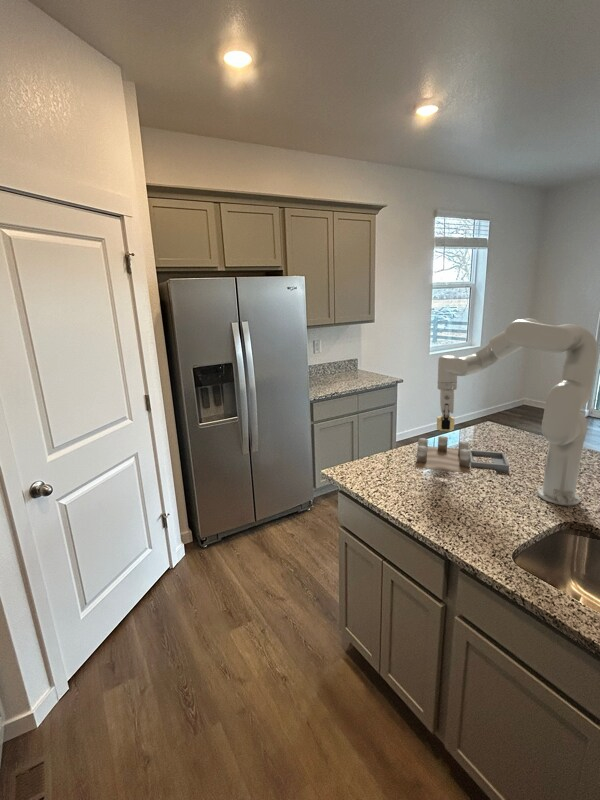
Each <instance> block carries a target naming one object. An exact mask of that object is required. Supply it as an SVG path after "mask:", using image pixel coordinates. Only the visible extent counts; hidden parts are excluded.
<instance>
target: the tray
mask: <svg viewBox="0 0 600 800" xmlns="http://www.w3.org/2000/svg"><path fill="white" fill-rule="evenodd" d="M468 450H469V451H470V467H474V468H485V469H486V468H487V469H493V470H495V471H496V472H498V473H499V472H500V473H509V472H510V465H509V462H508V459H507V457H506V455H505V453H504V452H499V451H498V452H497V451H487V450H486V451H484V450H477V449H476V450H475V449H474V450H473V449H468ZM473 456H481V457H482V456H484V457H490V459H491V462H480V461H474V460H473Z"/></svg>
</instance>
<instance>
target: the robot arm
mask: <svg viewBox="0 0 600 800" xmlns="http://www.w3.org/2000/svg"><path fill="white" fill-rule="evenodd" d="M523 348H524V349H529V350H535V351H540V352H544V353H549V354H551V353H552V354H560V353H564V352H565V354H566V356H565V359H564V362H563V365H562V371H561V372H562V373H561V377H560V381H559V383H557V384H555V385H554V386H553V387H551V389H550V390H549V391H548V394H547V396H546V399H545V402H544V403H545V405H544V411H543V417H542V422H541V432H542V436H543V438H544V439H545V440H546V441H547V442H548V446H547V447H548V448H547V453H546V459H545V461H546V462H545V468H544V475H543V484H542V486H540V487H538V488H537V491H536V494H537V496H538V497H540V499H542V500H544V501H546V502H549V503H550V504H555V505H558V506H569V507H571V506H576V505H579V503H580V501H581V496H579V494H577V493H576V492H577V491H576V490H577V485H578V476H579V472H580V471H579V470H580V465H581V460H582V453H583V447H584V444H585V439H586V436H587V432H588V421H587V418H586V416H585V415H584V414H583V413H582V412H581V409H582V407H584V406H585V405H586V404H587V403H589V401H590V398H591V396H592V389H593V382H594V379H595V372H596V367H597V362H598V361H597V360H598V354H599V348H598V342H597V340H596V338H595V336H594V335H593V334H592V332H591V331H589V330H588V329H586V328H585V327H584V326H581V325H578V324H573V323H565V324H559V325H552V324H545V323H541V322H540V321H539V320H538V319H536V318H535V319H534V318H528V317H527V318H521V319H516V320H514V321H512V322H510V323H509V324H508V326H507V327H506V328H505V330H503V331H501V332H499V333H498V334H496V335H494V336H493V337H491V338H490V339H489V341H488V344H487V345H485V347H483V348H481V349H479V350H478V351H476V352H474V353H472V354H469V355H465V356H461V357H458V356H455V355H450V354H449V355H448V354H446V355H441V356H439V357H438V359H437V363H438V364H437V368H438V369H437V390H439V393H440V395H439V396H440V399H439V401H440V402H439V404H440V412H441V414H442V415H441V416H443V420H442V429H450V415H451V414H454V406H455V403H454V402H455V391H456V390H457V387H458V377H466V376H469V375H472V374H473V375H474V374H476V373H479V372H481V371H483V370H484V369H487V368H489V367H491V366H493V365H495V364H496V363H498V362H499V361H502V360H503V359H504V358H506V357H508V356H510V355H512V354H514V353H515V352H517V351H519V350H521V349H523Z"/></svg>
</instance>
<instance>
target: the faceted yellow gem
mask: <svg viewBox="0 0 600 800" xmlns="http://www.w3.org/2000/svg"><path fill="white" fill-rule="evenodd" d="M442 420H443V416H442V415H440V416H437V417H436V429H437V430H438V431H440V432H451V431H454V430H455V417H453V416H452V415H451V416H450V429H442Z"/></svg>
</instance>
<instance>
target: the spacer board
mask: <svg viewBox="0 0 600 800" xmlns="http://www.w3.org/2000/svg"><path fill="white" fill-rule="evenodd" d="M448 439H449V437H448V436H446V435H445V436H444V435H440V436H438V439H437V441H438V442H437V446H429V445H428V444H429V439H427V438H424V437H423V438H421V437H420V438H418V442H417V443H418V446H417V448H416V449H417V452H416V453H417V454H416V461H417V469H427V470H437V471H445V472H453V473H456V472H457V473H463V474H464V473H466V474H470V473H471V472H470V468H469V467H470V466H471V464H470V451H469V450H470V449H469V448H470V446H469V445H470V443H469V442H468V441H465V440H464V441H463V440H461V441H459V442H458V448H453V447H452V448H451V447H448V442H449V441H448Z"/></svg>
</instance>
